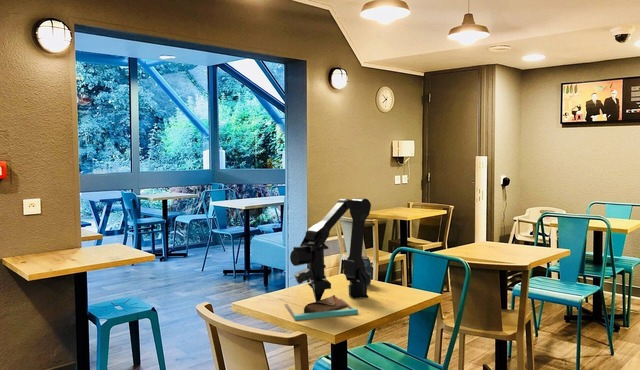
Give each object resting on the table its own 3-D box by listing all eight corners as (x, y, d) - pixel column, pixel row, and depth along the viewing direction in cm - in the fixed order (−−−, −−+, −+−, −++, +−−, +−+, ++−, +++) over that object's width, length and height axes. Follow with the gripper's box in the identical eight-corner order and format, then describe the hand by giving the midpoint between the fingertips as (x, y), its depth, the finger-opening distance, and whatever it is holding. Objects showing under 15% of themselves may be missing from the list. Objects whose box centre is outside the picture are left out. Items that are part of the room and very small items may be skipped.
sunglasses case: (322, 317, 188) (314, 300, 190) (309, 324, 192) (301, 307, 194) (351, 305, 202) (343, 289, 204) (338, 312, 206) (331, 296, 208)
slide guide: (342, 299, 211) (341, 295, 211) (358, 313, 191) (358, 309, 191) (284, 305, 206) (284, 301, 206) (295, 320, 186) (295, 316, 186)
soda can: (370, 286, 230) (369, 259, 230) (354, 286, 232) (353, 259, 231) (371, 283, 237) (371, 256, 236) (356, 282, 238) (355, 256, 238)
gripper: (290, 259, 208) (291, 298, 209) (300, 268, 190) (302, 311, 191) (318, 257, 211) (319, 296, 211) (331, 266, 193) (332, 308, 193)
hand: (317, 302), depth 202 cm, fingers closed
